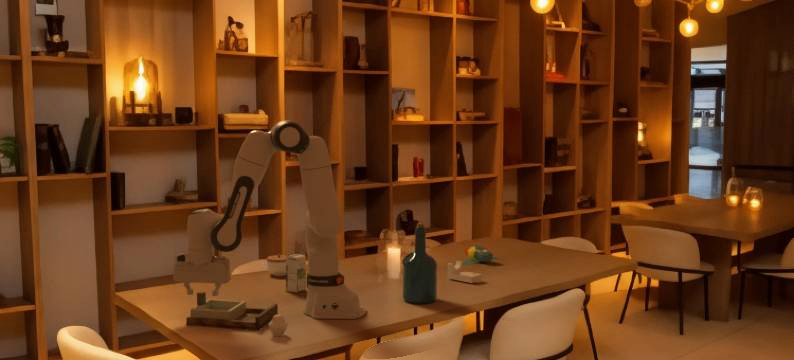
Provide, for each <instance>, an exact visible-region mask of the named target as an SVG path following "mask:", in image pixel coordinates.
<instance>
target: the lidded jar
mask: <svg viewBox="0 0 794 360" xmlns="http://www.w3.org/2000/svg"><path fill="white" fill-rule="evenodd" d="M287 256H288V255H285V254H284V255H283V254H281V253H277V255H269V256H267V257H266V265H267V269H268V272H270V274H271V275H272V276H273V277H282V276H286V257H287Z"/></svg>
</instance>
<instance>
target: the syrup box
mask: <svg viewBox="0 0 794 360" xmlns="http://www.w3.org/2000/svg"><path fill="white" fill-rule="evenodd" d="M286 256H287V257H286V275H285V291H286V292H289V293H297V294H298V293H301V292H303V291H306V285H307V274H306V273H307V271H306V270H307V269H306V267H307V265H306V264H307V263H306V262H307V256H306V255H304V254H301V253H294V254H291V255H286Z"/></svg>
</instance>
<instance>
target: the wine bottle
mask: <svg viewBox="0 0 794 360" xmlns="http://www.w3.org/2000/svg"><path fill="white" fill-rule="evenodd" d="M426 232H427V231H426V226H425V223H423V222H420V223H417V224H416V226H415V230H414V251H411V252H410V253H408V254H407V255H405V257H404V258H403V259H402V262H401V263H402V298H403V301H404V302H407V303H410V304H415V303H416V304H417V305H423V304H424V305H425V304H426V305H427V304H432V303H434V302H435V301H436V300H437V299H438V298H437V294H438V293H437V291H438V263H437V261H436V259H435V258H434V257H433V256H431V255H430V254H428V253H427V249H426V248H427V247H426V244H427V243H426V242H427V241H426V238H427V237H426V236H427V233H426Z"/></svg>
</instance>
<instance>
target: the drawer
mask: <svg viewBox="0 0 794 360" xmlns="http://www.w3.org/2000/svg"><path fill="white" fill-rule="evenodd" d="M206 293H207V292H205V291H198V292H196V306H194V307H192V308H191V309H190V317H195V318H210V319H224V320H235V319H237V318H238V317H240V316H241V315H243V314H244V313H246V307H247V301H246V300H245V301H244V300H231V299H230V300H229V299H228V300H227V299H215V298H214V299H213V298H209V299H207V297H206V295H207V294H206Z"/></svg>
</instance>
